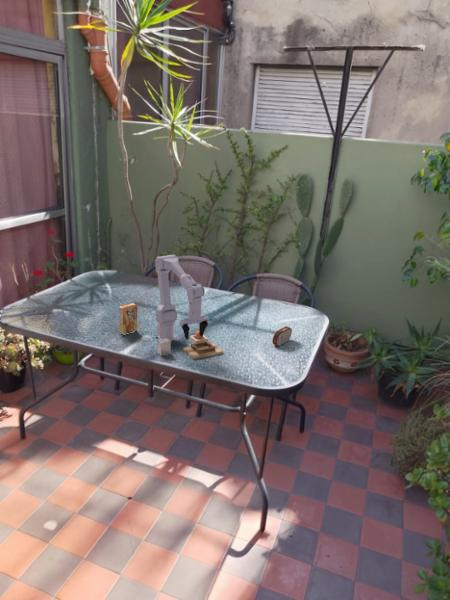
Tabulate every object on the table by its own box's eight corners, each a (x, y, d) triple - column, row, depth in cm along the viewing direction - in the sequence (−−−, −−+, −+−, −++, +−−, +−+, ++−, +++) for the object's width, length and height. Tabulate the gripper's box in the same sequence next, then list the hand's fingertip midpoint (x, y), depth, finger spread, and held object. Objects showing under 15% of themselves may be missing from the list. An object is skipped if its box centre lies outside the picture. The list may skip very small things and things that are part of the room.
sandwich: (286, 338, 241) (288, 323, 238) (292, 340, 239) (293, 325, 236) (271, 347, 230) (272, 331, 227) (276, 348, 228) (278, 333, 225)
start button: (194, 337, 229) (194, 331, 228) (200, 336, 231) (200, 329, 230) (197, 340, 227) (197, 333, 225) (203, 339, 228) (203, 332, 227)
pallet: (182, 349, 221) (182, 343, 220) (211, 343, 229) (211, 338, 228) (194, 359, 211) (194, 353, 210) (223, 353, 219) (223, 347, 218)
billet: (157, 353, 216) (157, 339, 214) (167, 351, 219) (167, 338, 216) (160, 356, 213) (161, 343, 211) (170, 354, 216) (170, 341, 213)
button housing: (189, 341, 231) (189, 335, 230) (201, 338, 234) (201, 333, 233) (195, 346, 225) (196, 341, 224) (208, 344, 229) (208, 338, 228)
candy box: (132, 329, 241) (132, 302, 236) (137, 332, 238) (137, 304, 233) (119, 333, 235) (118, 306, 229) (123, 336, 232) (123, 308, 227)
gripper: (184, 315, 201) (183, 343, 205) (212, 311, 208) (211, 337, 213) (177, 310, 206) (177, 337, 211) (205, 306, 214) (204, 332, 218)
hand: (193, 337), depth 212 cm, fingers open, 7 cm apart
